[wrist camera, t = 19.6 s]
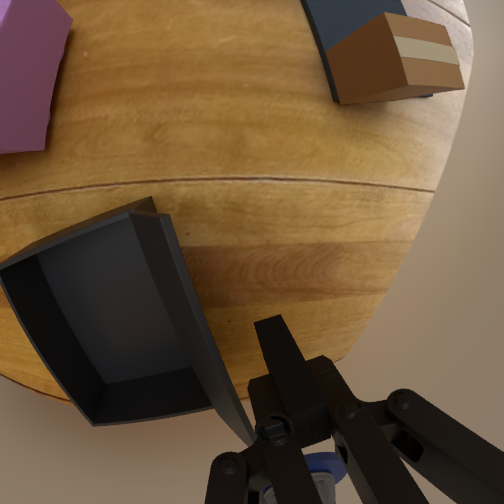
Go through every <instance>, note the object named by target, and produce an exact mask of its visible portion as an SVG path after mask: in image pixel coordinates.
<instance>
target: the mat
mask: <svg viewBox="0 0 504 504" xmlns="http://www.w3.org/2000/svg"><path fill="white" fill-rule="evenodd" d="M301 2H302V4H303V7H304V10H305V12H306V15H307V18H308V20H309V23H310V26H311V29H312V31H313V34H314V37H315V40H316V43H317V46H318V49H319V52H320V55H321V58H322V62H323V65H324V68H325V72H326V75H327V79H328V82H329V86H330V89H331V93H332V97H333V100H334V102H336V101H339V97H338V93H337V89H336V86H335V82H334V79H333V75H332V72H331V68H330V65H329V62H328V59H327V55H326V51H328V50H329V49H330V48H332V47H333V46H334V45H336V44H337V43H338V42H340V41H341V40H343V39H344V38H346V37H347V36H348V35H350V34H351V33H353V32H354V31H356V30H357V29H359V28H360V27H362V26H363V25H365V24H366V23H368V22H369V21H371V20H372V19H374V18H375V17H377V16H379V15H380V14H382V13H383V12H387V13H392V14H398V15H403V16H407V14H406V12H405V9H404V7H403V5H402V3H401V0H301ZM432 96H433V94H428V95H422V96H416V97H432Z"/></svg>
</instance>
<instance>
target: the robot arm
mask: <svg viewBox="0 0 504 504" xmlns="http://www.w3.org/2000/svg"><path fill="white" fill-rule="evenodd" d="M254 326H255V329H256V333H257V336H258V340H259V343H260V346H261V350H262V353H263V356H264V360H265V362H266V365H267V368H268V371H269V374H267V375H264V376H261V377H257V378H254V379H250V381H249V385H248V388H247V389H248V393H249V397H250V401H251V404H252V408H253V413H254V416H255V420H256V425H255V433H256V435H257V439H256V441H255V442H254V443H253V444H252V445H251V446H250V447H248V448H247V449H245V450H243V451H241V452H240V453H237V452H225V453H222V454H220V455H219V456H217V457H216V458H215V459H214V460H213V462H212V465H211V469H210V475H209V480H208V486H207V492H206V498H205V504H262V490H263V489H264V488H266V487H267V488H266V489H265V491H264V493H263V494H264V498H265V501H266V503H267V504H336V502H335V480H334V477H333V475H332V473H331V472H330V471H327V470H313V471H310V470H309V468H308V465H307V463H306V460H305V458H304V455H303V453H302V450H301V449H302V448H304V447H308V446H310V445H313V444H316V443H319V442H322V441H324V440H327V439H329V438H331V435H332V437H333V439H334V441H335V453H336V455H338V454H339V456H340V458H341V460H342V462H343V464H344V466H345V468H346V470H347V472H348V475H349V476H350V479H351V481H352V483H353V485H354V486H355V489H356V491H357V493H358V495H359V497H360V499H361V501H362V503H363V504H429V502H428V501H427V499H426V498H425V496H424V494H423V493H422V491H421V490H420V488H419V487H418V485H417V484H416V482H415V481H414V479H413V477H412V476H411V474H410V473H409V471H408V470H407V468H406V467H405V465H404V463H403V462H402V460H401V459H400V457H401V458H402V459H403V460H404V461H405V462H406V463H408V464H409V465H410V466H411V467H412V468H414V469H415V470H416V471H417V472H418V473H420V474H421V475H422V476H423V477H424V478H426V479H427V480H428V481H429V482H430V483H432V484H433V485H434V486H435V487H437V488H438V489H439V490H440V491H442V492H443V493H444V494H446V495H447V496H448V497H449V498H450V499H452V500H453V501H454V502H456V503H457V504H504V452H503V451H501V450H500V449H498V448H497V447H495V446H494V445H492V444H490V443H489V442H487V441H486V440H484V439H483V438H481V437H480V436H478V435H477V434H475V433H474V432H472V431H471V430H469V429H468V428H466V427H465V426H464V425H462V424H460V423H459V422H457V421H456V420H455V419H453V418H452V417H450V416H449V415H447V414H446V413H444V412H443V411H441V410H440V409H439V408H437V407H436V406H434V405H433V404H431V403H430V402H428V401H427V400H425V399H424V398H423V397H421V396H420V395H418V394H417V393H415V392H414V391H412V390H409V389H398V390H395V391H394V392H392V393H391V394H390V395H389V396H388V398H387V400H382V401H376V402H364V401H361V400H359V399H357V398H356V397H355V396H354V395H353V393H352V391H351V390H350V388H349V387H348V385H347V384H346V383H345V381H344V379H343V378H342V376H341V375H340V373H339V371H338V370H337V369H336V367H335V365H334V364H333V362H332V361H331V360H330V359H329V358H327V357H325V356H324V355H321V356H318V357H316V358H313V359H310V360H307V361H305V359H304V357H303V355H302V353H301V352H300V350H299V348H298V346H297V344H296V342H295V340H294V338H293V337H292V335H291V333H290V331H289V329H288V327H287V325H286V323H285V322H284V320H283V318H282V316H281V314H279V315H276V316H273V317H270V318H267V319H263V320H260V321H257V322H254ZM268 486H269V487H268Z"/></svg>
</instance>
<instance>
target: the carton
mask: <svg viewBox="0 0 504 504" xmlns="http://www.w3.org/2000/svg"><path fill="white" fill-rule="evenodd" d="M135 210H136V211H145V212H155V213H157V212H156V209H155V205H154V202H153V199H152V196H150V197H147V198H144V199H141V200H138V201H135V202H133V203H130V204H127V205H124V206H121V207H119V208H116V209H113V210H111V211H108V212H105V213H103V214H100V215H97V216H95V217H92V218H90V219H87V220H85V221H82V222H80V223H77V224H75V225H72V226H70V227H68V228H65V229H63V230H61V231H58V232H56V233H54V234H51V235H49V236H47V237H45V238H42V239H40V240H38V241H36V242H33V243H31V244H30V245H28V246H26V247H25V248H23V249H22V250H20V251H18V252H17V253H15V254H14V255H12V256H10V257H9V258H7V259H6V260H4V261H3V262H1V263H0V284H1V286H2V289H3V291H4V293H5V295H6V297H7V299H8V301H9V304H10V306H11V308H12V310H13V311H14V313H15V315H16V317H17V319H18V321H19V323H20V325H21V327H22V328H23V330H24V332H25V334H26V335H27V337H28V339H29V340H30V342H31V344H32V345H33V347H34V349H35V350H36V352H37V353H38V355H39V357H40V358H41V360H42V361H43V363H44V364H45V366H46V367H47V369H48V370H49V372H50V373H51V374H52V376H53V377H54V379H55V380H56V382H57V383H58V384H59V386H60V387H61V388H62V390H63V391H64V392H65V394H66V395H67V396H68V397H69V399H70V400H71V401H72V402H73V404H74V405H75V406H76V407H77V409H78V410H79V411H80V412H81V413H82V415H83V416H84V417H85V418H86V419H87V420H88V421H89V423H90V424H91V425H92V426H93V427H94V426H108V425H119V424H128V423H136V422H143V421H151V420H157V419H163V418H170V417H175V416H180V415H186V414H191V413H196V412H200V411H205V410H209V409H214V406H213V404H212V403H211V401H210V399H209V397H208V395H207V393H206V392H205V390H204V388H203V386H202V384H201V382H200V380H199V378H198V376H197V374H196V372H195V370H194V368H193V367H192V364H191V362H190V360H189V358H188V356H187V354H186V352H185V350H184V348H183V346H182V344H181V342H180V340H179V337H178V335H177V333H176V331H175V329H174V327H173V324H172V322H171V320H170V318H169V315H168V313H167V311H166V308H165V306H164V304H163V301H162V299H161V297H160V294H159V292H158V289H157V287H156V284H155V282H154V280H153V277H152V274H151V272H150V269H149V267H148V264H147V261H146V259H145V256H144V253H143V251H142V248H141V245H140V242H139V240H138V237H137V234H136V231H135V228H134V225H133V222H132V219H131V216H130V212H132V211H135Z"/></svg>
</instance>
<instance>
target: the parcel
mask: <svg viewBox="0 0 504 504" xmlns="http://www.w3.org/2000/svg"><path fill="white" fill-rule="evenodd" d="M326 55H327V59H328V62H329V65H330V68H331V72H332V75H333V79H334V82H335V86H336V89H337V93H338V97H339V101H340V104H341V105H344V104H354V103H366V102H382V101H396V100H401V99H406V98H411V97H416V96H422V95H428V94H434V93H440V92H447V91H454V90H462V89H465V87H464V83H463V79H462V75H461V72H460V68H459V65H460V64H459V60H458V57H457V54H456V51H455V48H454V47H453V46H452V43H451V41H450V38H449V35H448V32H447V30H446V27H445V26H443V25H440V24H436V23H433V22H429V21H425V20H421V19H417V18H412V17H408V16H403V15H398V14H392V13H387V12H383V13H382V14H380V15H379V16H377V17H375V18H374V19H372V20H371V21H369V22H368V23H366V24H365V25H363V26H362V27H360V28H359V29H357V30H356V31H354V32H353V33H351V34H350V35H348V36H347V37H346V38H344V39H343V40H341V41H340V42H338V43H337V44H336V45H334V46H333V47H332V48H330V49H329V50H328V51H326Z"/></svg>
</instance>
